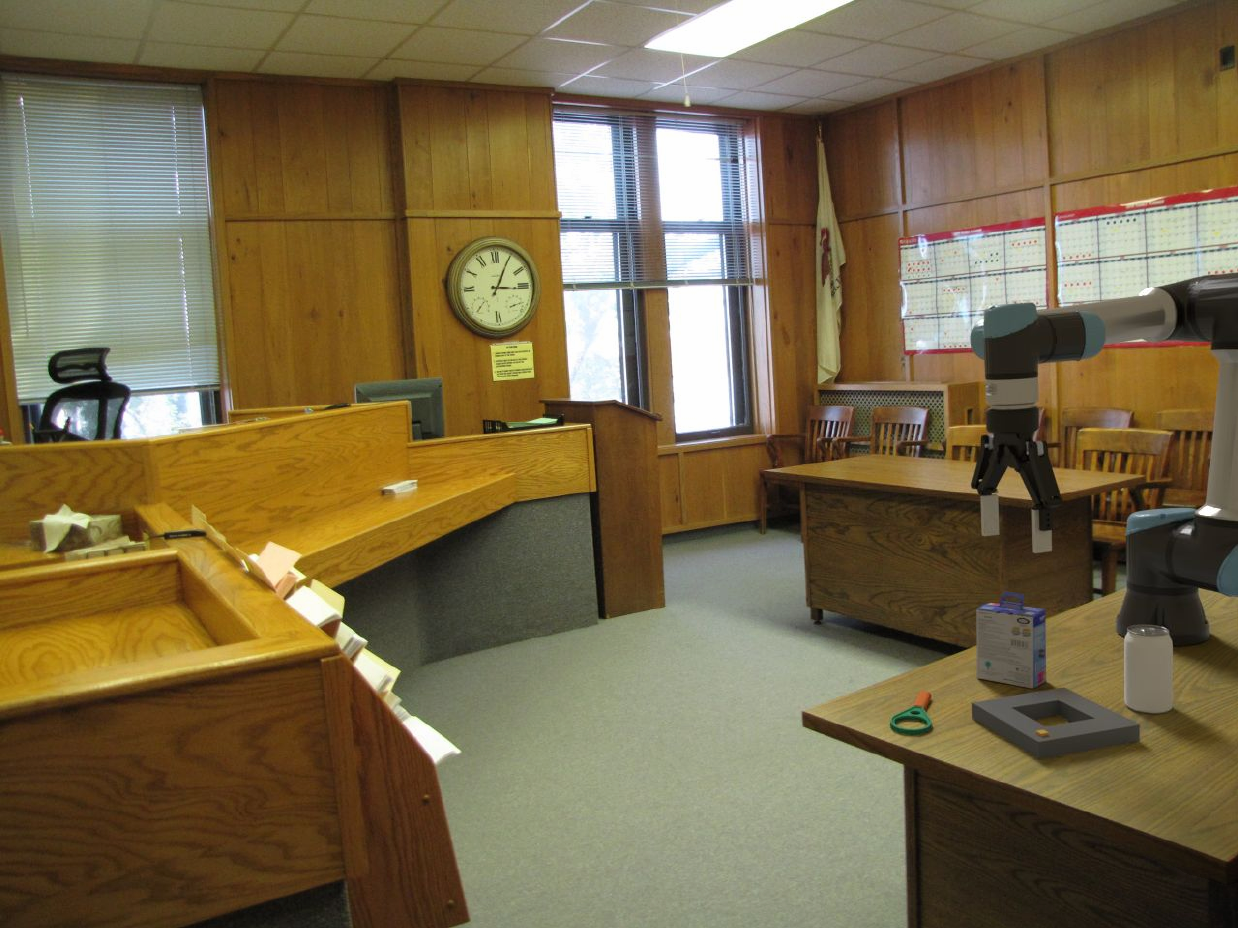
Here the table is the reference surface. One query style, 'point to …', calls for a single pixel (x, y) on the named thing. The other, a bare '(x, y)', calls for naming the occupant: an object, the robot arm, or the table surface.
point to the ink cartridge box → (1011, 642)
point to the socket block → (1082, 734)
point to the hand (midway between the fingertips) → (1015, 543)
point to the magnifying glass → (914, 716)
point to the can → (1148, 669)
